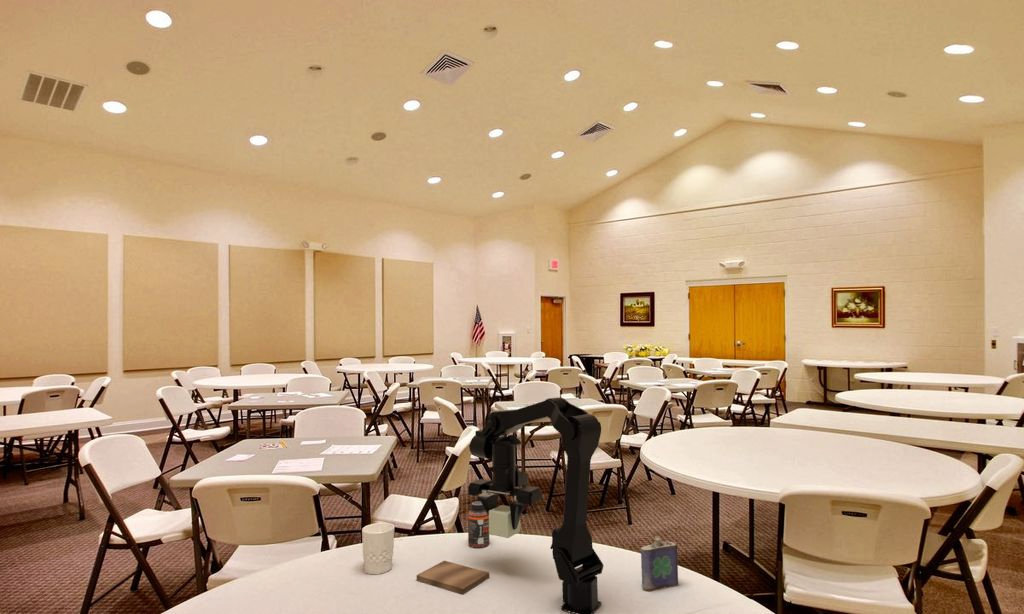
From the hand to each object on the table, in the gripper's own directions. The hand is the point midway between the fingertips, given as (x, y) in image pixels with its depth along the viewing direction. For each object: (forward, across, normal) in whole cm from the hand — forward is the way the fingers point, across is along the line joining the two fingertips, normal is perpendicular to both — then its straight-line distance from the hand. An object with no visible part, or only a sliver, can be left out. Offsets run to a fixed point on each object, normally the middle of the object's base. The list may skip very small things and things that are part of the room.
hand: (504, 527), depth 126 cm
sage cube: (+1, 0, 0) cm, 1 cm away
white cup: (+11, +29, +14) cm, 34 cm away
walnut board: (+11, +9, +9) cm, 17 cm away
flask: (+11, -34, -12) cm, 38 cm away
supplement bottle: (+11, +17, -12) cm, 23 cm away
